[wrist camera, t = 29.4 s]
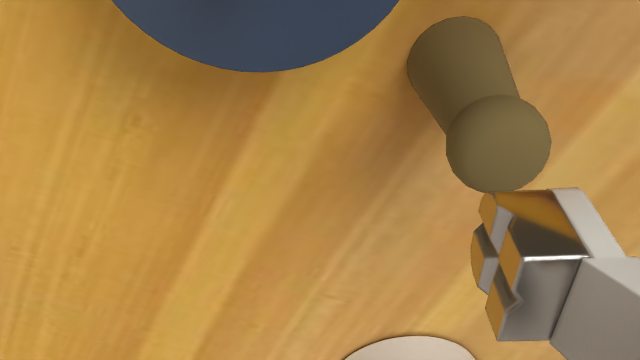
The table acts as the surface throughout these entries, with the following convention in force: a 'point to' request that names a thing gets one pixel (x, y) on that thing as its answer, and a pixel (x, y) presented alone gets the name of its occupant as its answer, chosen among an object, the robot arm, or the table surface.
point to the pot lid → (256, 29)
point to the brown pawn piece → (478, 106)
